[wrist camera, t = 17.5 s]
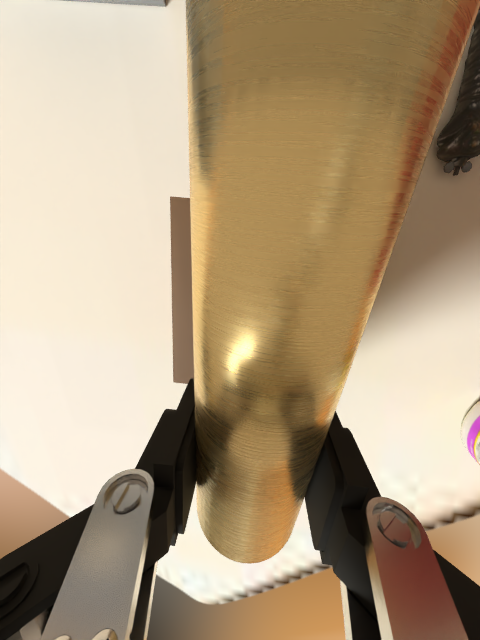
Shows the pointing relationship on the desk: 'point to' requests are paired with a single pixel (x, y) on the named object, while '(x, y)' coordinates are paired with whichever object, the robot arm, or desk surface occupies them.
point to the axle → (296, 226)
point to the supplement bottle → (472, 432)
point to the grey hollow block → (129, 2)
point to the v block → (181, 290)
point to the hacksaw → (464, 114)
